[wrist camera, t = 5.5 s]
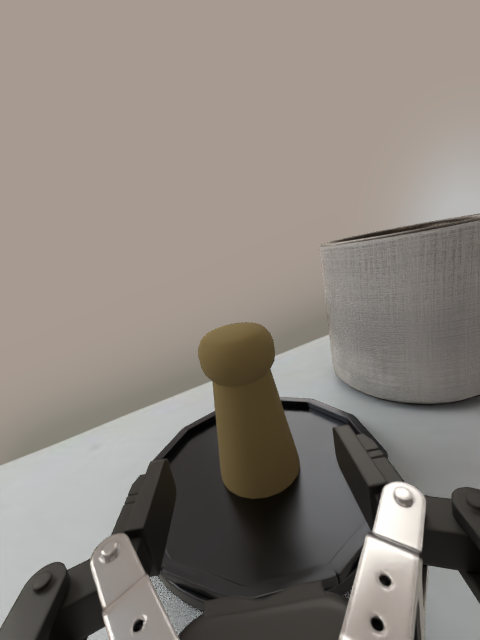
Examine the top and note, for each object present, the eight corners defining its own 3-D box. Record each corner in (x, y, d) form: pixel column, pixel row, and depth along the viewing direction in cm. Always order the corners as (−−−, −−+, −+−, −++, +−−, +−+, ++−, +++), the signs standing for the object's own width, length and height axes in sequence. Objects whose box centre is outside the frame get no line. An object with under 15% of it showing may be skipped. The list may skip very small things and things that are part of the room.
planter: (366, 340, 43) (356, 234, 40) (512, 353, 32) (517, 205, 28) (308, 388, 33) (287, 251, 29) (493, 434, 21) (498, 216, 18)
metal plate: (270, 390, 34) (268, 379, 34) (447, 466, 19) (446, 449, 19) (115, 479, 25) (110, 465, 24) (230, 760, 10) (222, 735, 10)
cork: (205, 470, 22) (171, 337, 20) (260, 429, 26) (237, 312, 23) (259, 516, 18) (222, 350, 15) (317, 459, 21) (295, 316, 19)
